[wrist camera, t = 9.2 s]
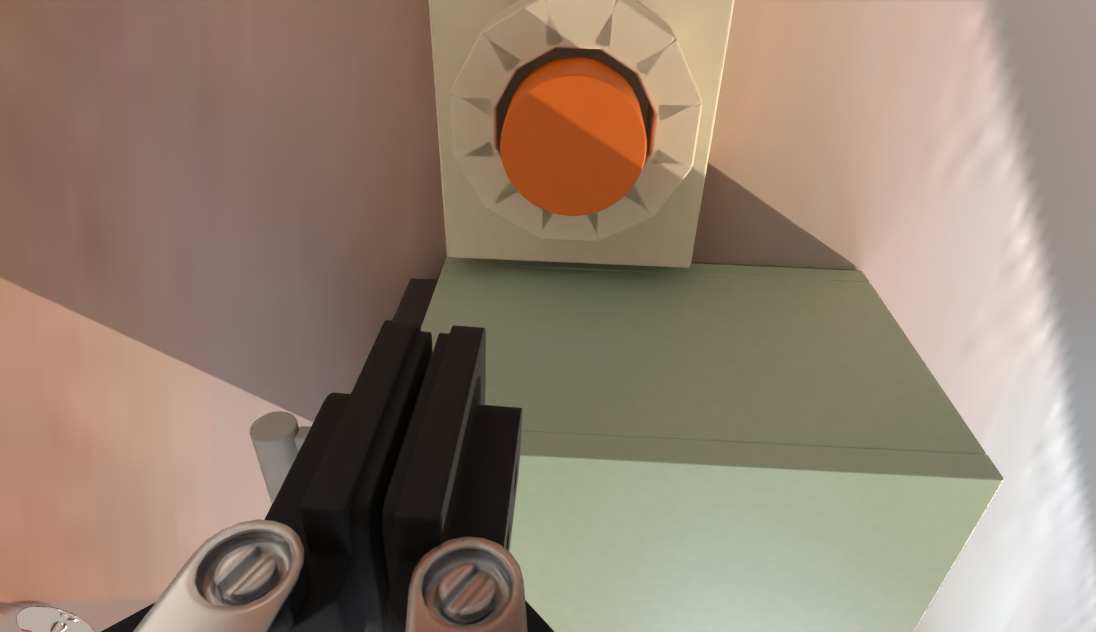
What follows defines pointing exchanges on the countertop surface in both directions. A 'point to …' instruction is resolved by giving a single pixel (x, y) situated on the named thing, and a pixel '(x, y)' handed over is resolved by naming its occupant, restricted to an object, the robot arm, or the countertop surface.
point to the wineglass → (50, 620)
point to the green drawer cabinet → (719, 446)
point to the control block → (644, 62)
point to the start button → (573, 137)
